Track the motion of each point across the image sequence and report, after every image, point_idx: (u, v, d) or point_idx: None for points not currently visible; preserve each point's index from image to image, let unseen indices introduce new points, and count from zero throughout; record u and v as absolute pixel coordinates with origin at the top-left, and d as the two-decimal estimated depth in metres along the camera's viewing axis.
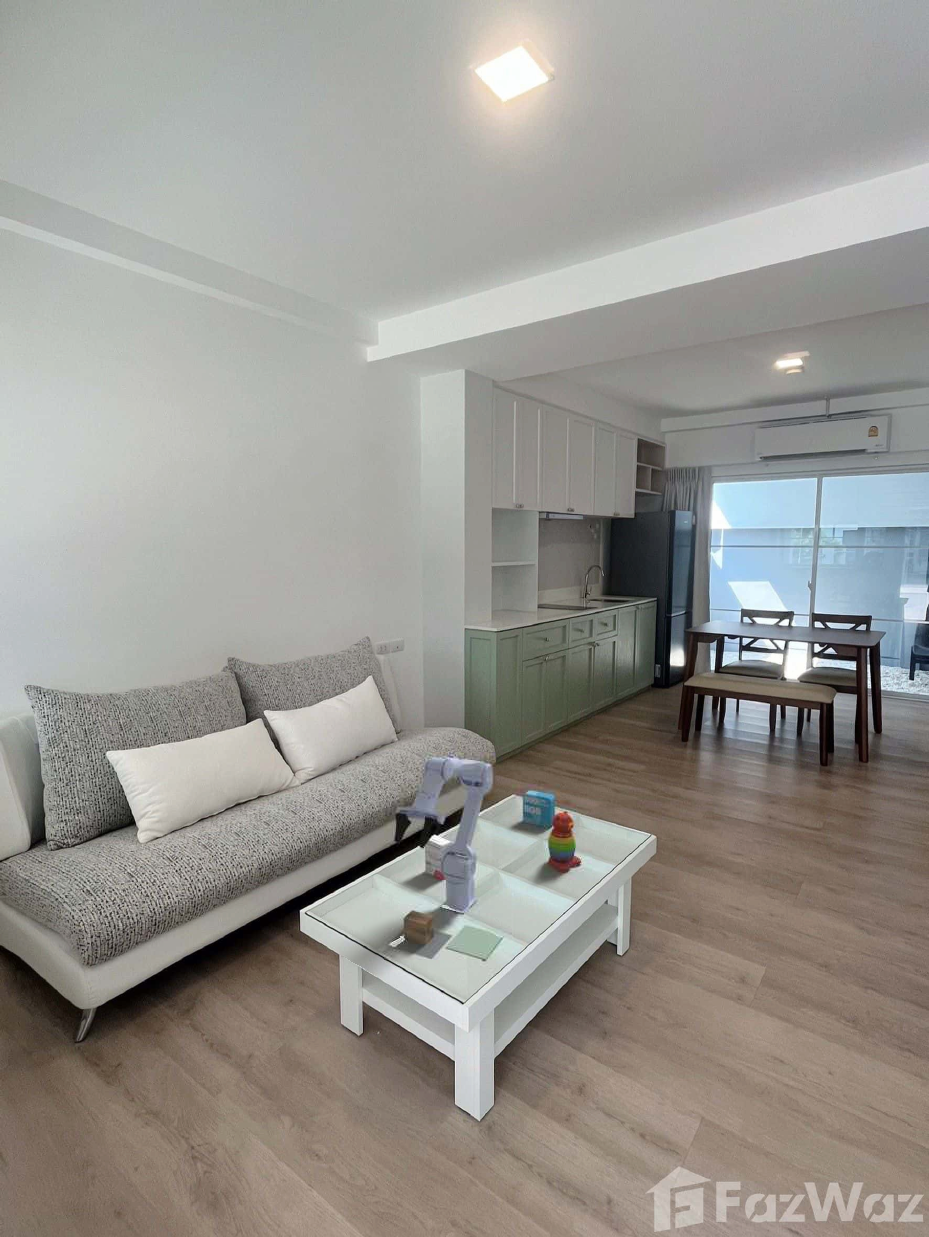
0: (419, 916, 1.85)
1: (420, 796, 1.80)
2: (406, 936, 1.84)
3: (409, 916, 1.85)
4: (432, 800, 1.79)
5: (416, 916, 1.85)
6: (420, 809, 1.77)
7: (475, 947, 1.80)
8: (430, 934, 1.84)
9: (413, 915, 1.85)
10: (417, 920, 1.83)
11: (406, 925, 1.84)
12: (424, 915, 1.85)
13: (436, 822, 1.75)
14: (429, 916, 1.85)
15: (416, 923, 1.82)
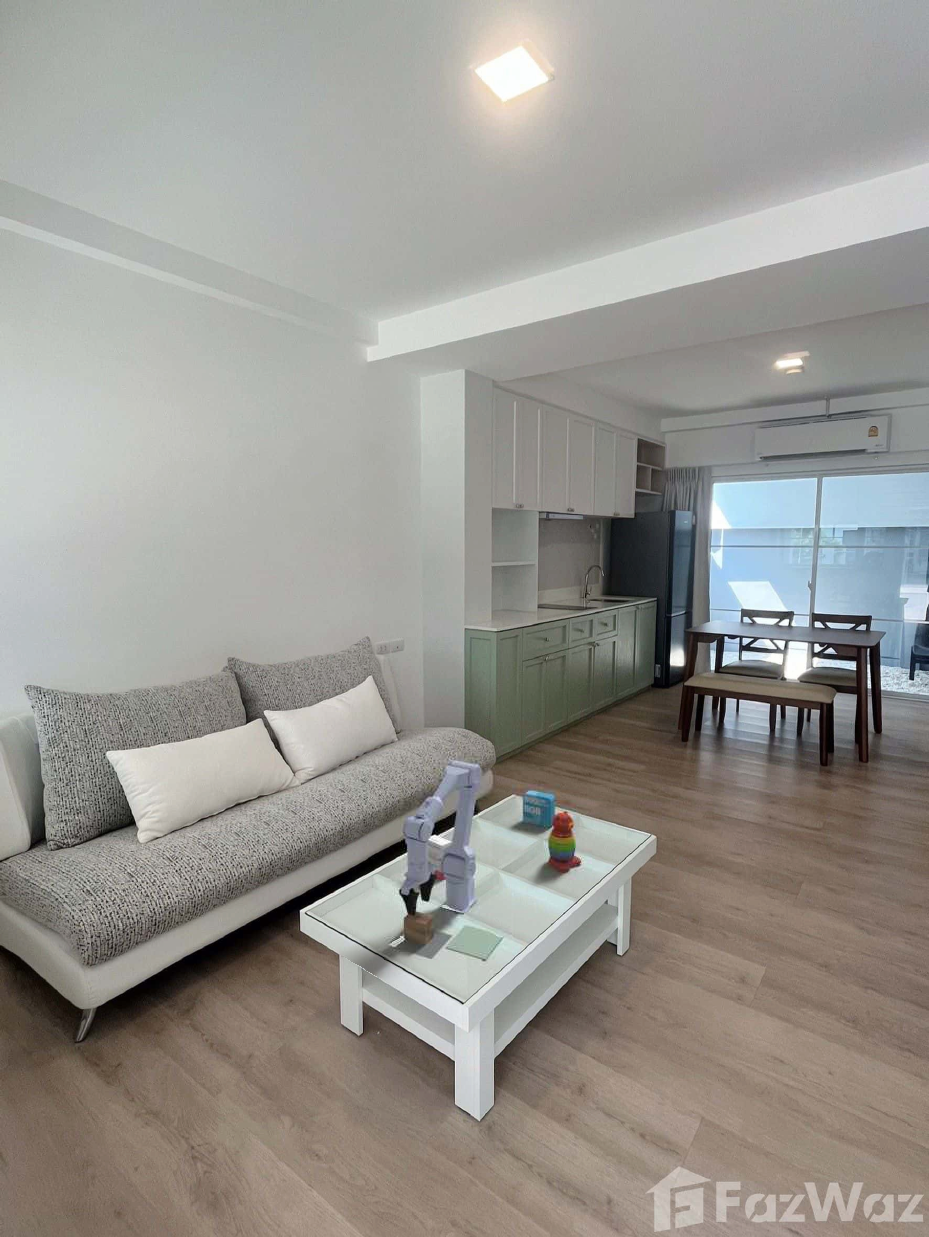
0: (419, 916, 1.85)
1: None
2: (406, 936, 1.84)
3: (409, 916, 1.85)
4: (410, 867, 1.81)
5: (416, 916, 1.85)
6: (406, 877, 1.83)
7: (475, 947, 1.80)
8: (430, 934, 1.84)
9: (413, 915, 1.85)
10: (417, 920, 1.83)
11: (406, 925, 1.84)
12: (424, 915, 1.85)
13: None
14: (429, 916, 1.85)
15: (416, 923, 1.82)
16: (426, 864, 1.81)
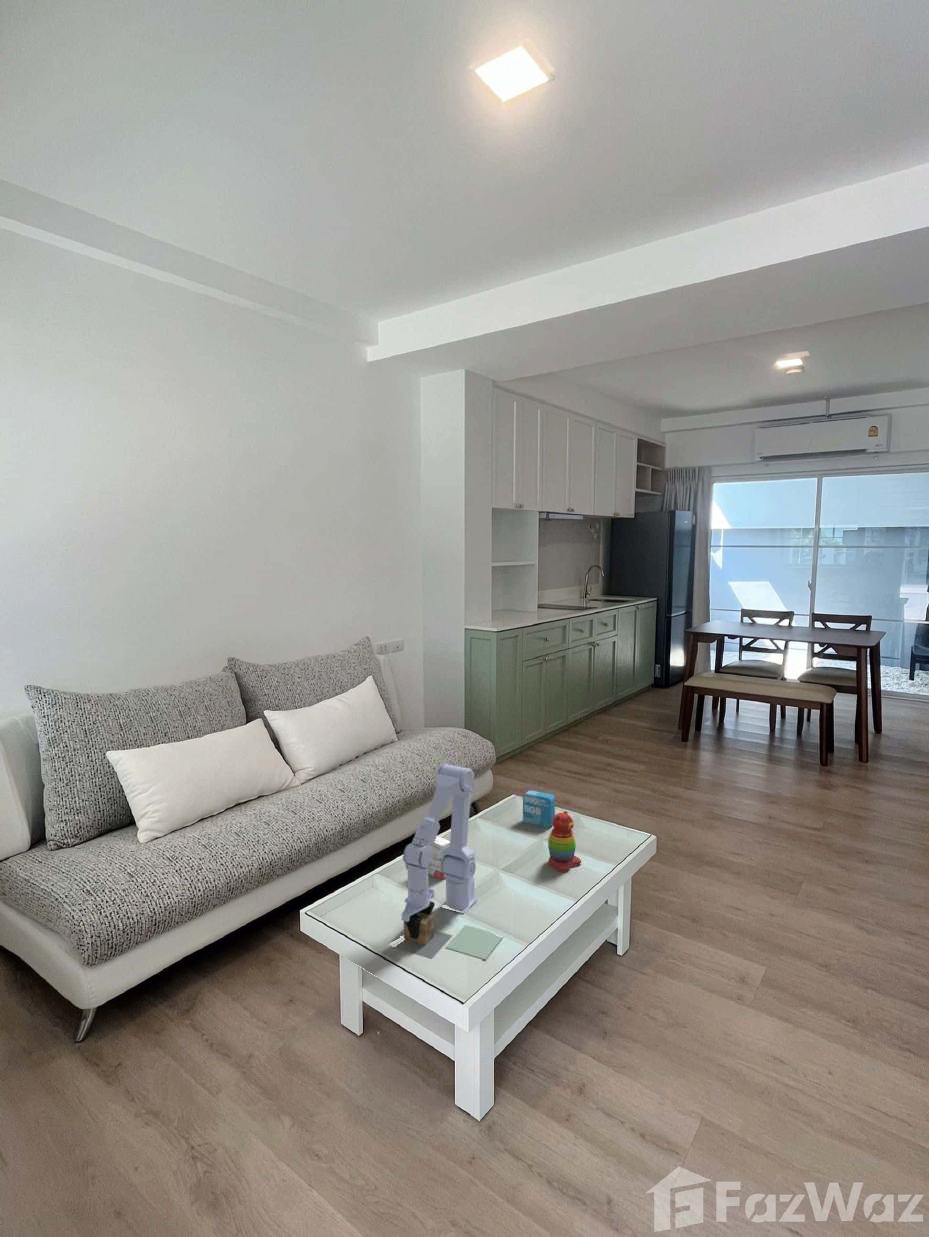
0: None
1: None
2: (406, 936, 1.84)
3: None
4: (410, 893, 1.82)
5: None
6: (407, 902, 1.84)
7: (475, 947, 1.80)
8: (430, 934, 1.84)
9: None
10: None
11: (406, 925, 1.84)
12: (424, 915, 1.85)
13: None
14: (429, 916, 1.85)
15: None
16: (426, 890, 1.82)
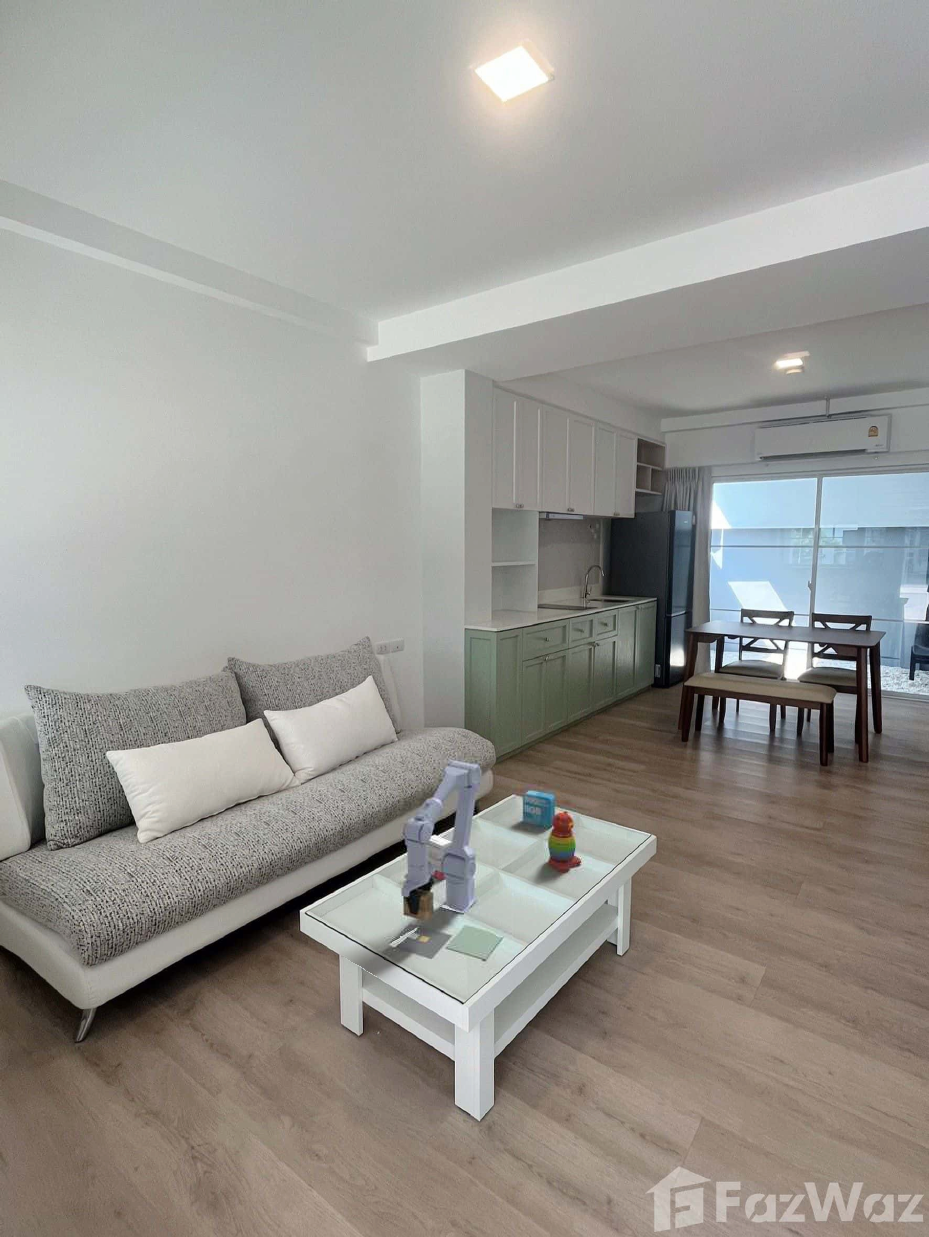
0: None
1: None
2: (406, 912, 1.83)
3: None
4: (410, 869, 1.81)
5: None
6: (407, 878, 1.83)
7: (475, 947, 1.80)
8: (430, 910, 1.83)
9: None
10: None
11: (405, 901, 1.83)
12: (424, 891, 1.85)
13: None
14: (429, 892, 1.84)
15: None
16: (426, 866, 1.81)
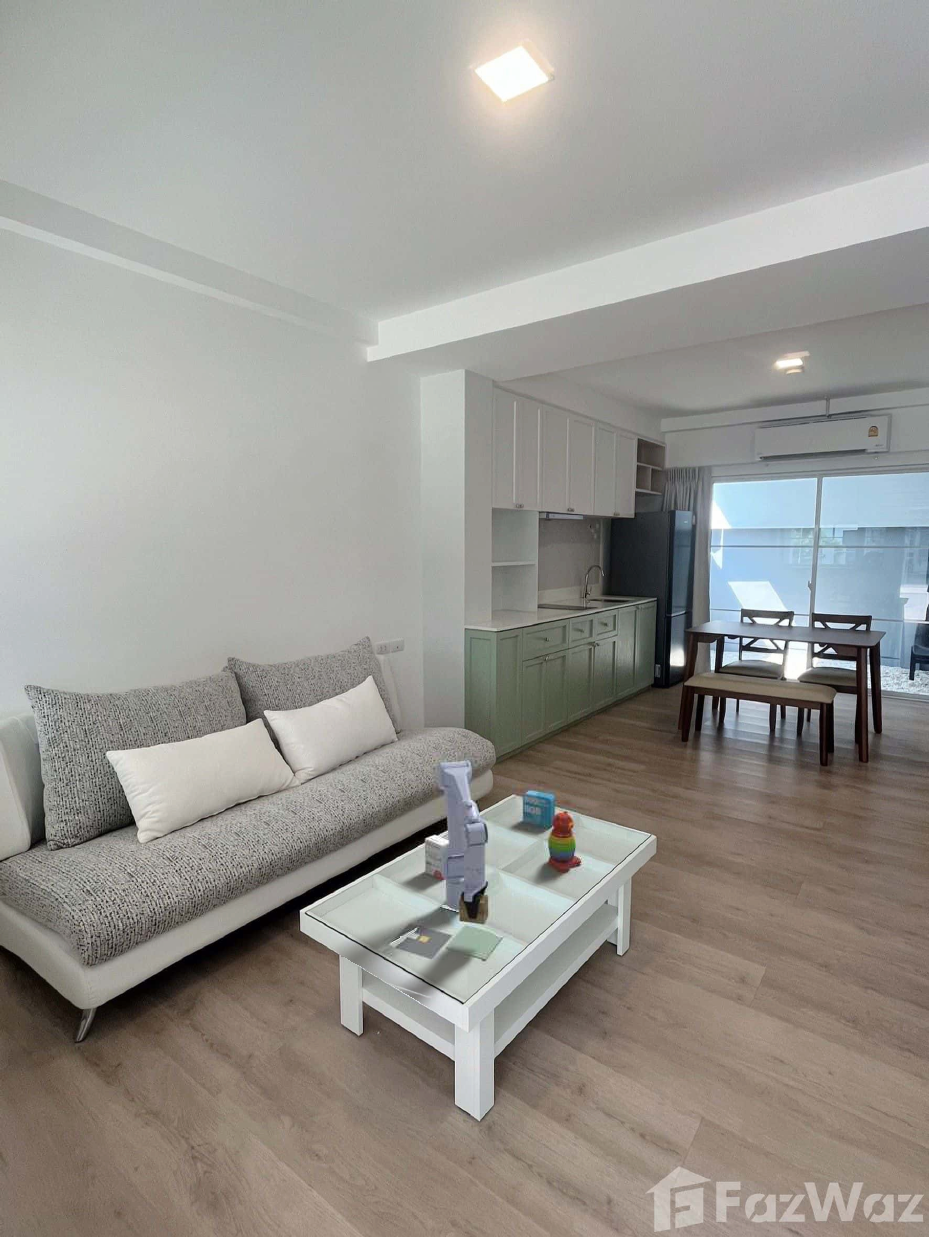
0: None
1: None
2: (462, 918, 1.81)
3: None
4: (468, 873, 1.78)
5: None
6: (463, 883, 1.81)
7: (475, 947, 1.80)
8: (486, 913, 1.81)
9: None
10: None
11: (462, 907, 1.80)
12: None
13: None
14: (484, 895, 1.82)
15: None
16: (484, 869, 1.80)
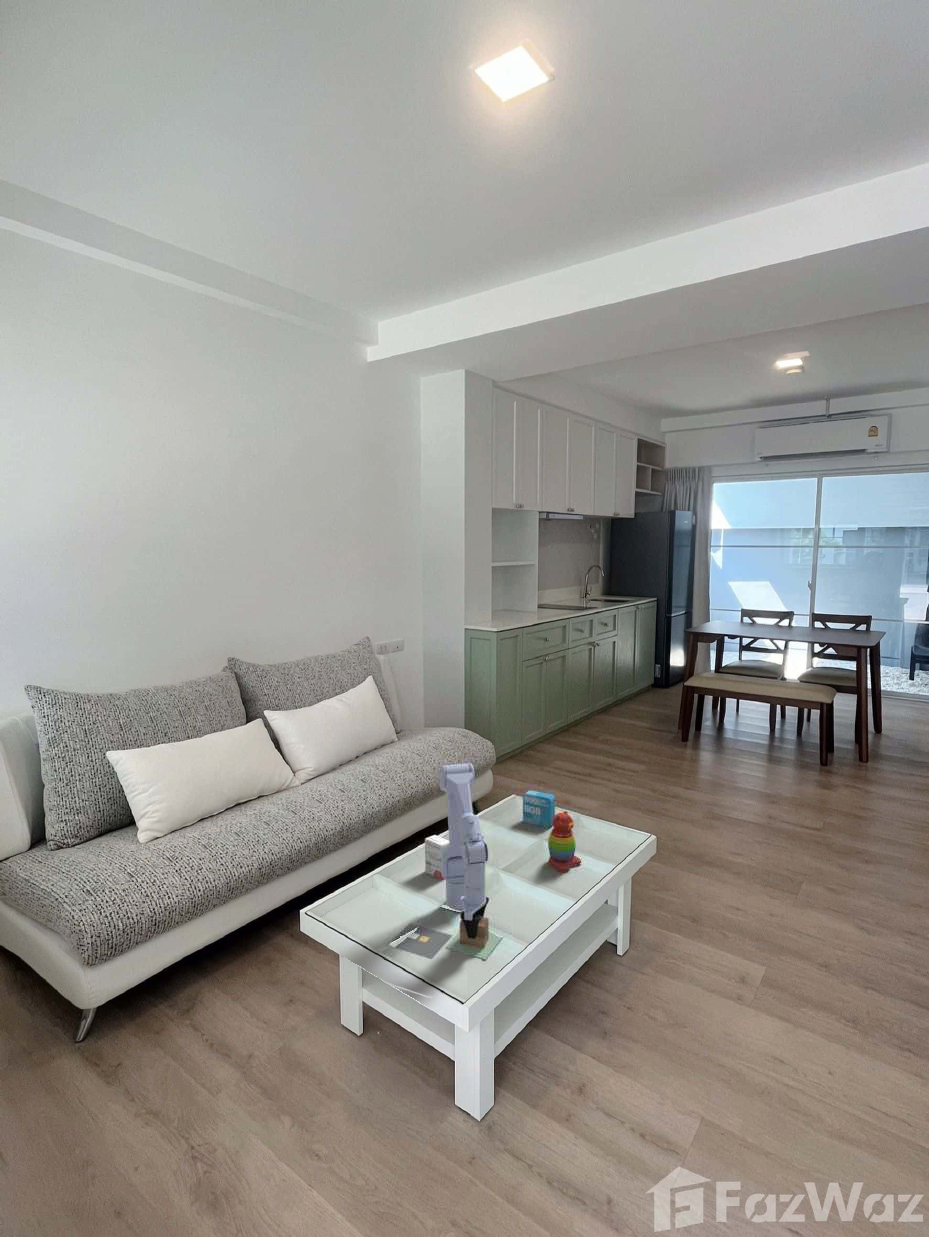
0: None
1: None
2: (462, 941, 1.81)
3: None
4: (469, 891, 1.79)
5: None
6: (463, 901, 1.81)
7: (475, 947, 1.80)
8: (487, 936, 1.82)
9: None
10: None
11: (462, 930, 1.81)
12: None
13: None
14: (484, 918, 1.83)
15: None
16: (484, 887, 1.80)
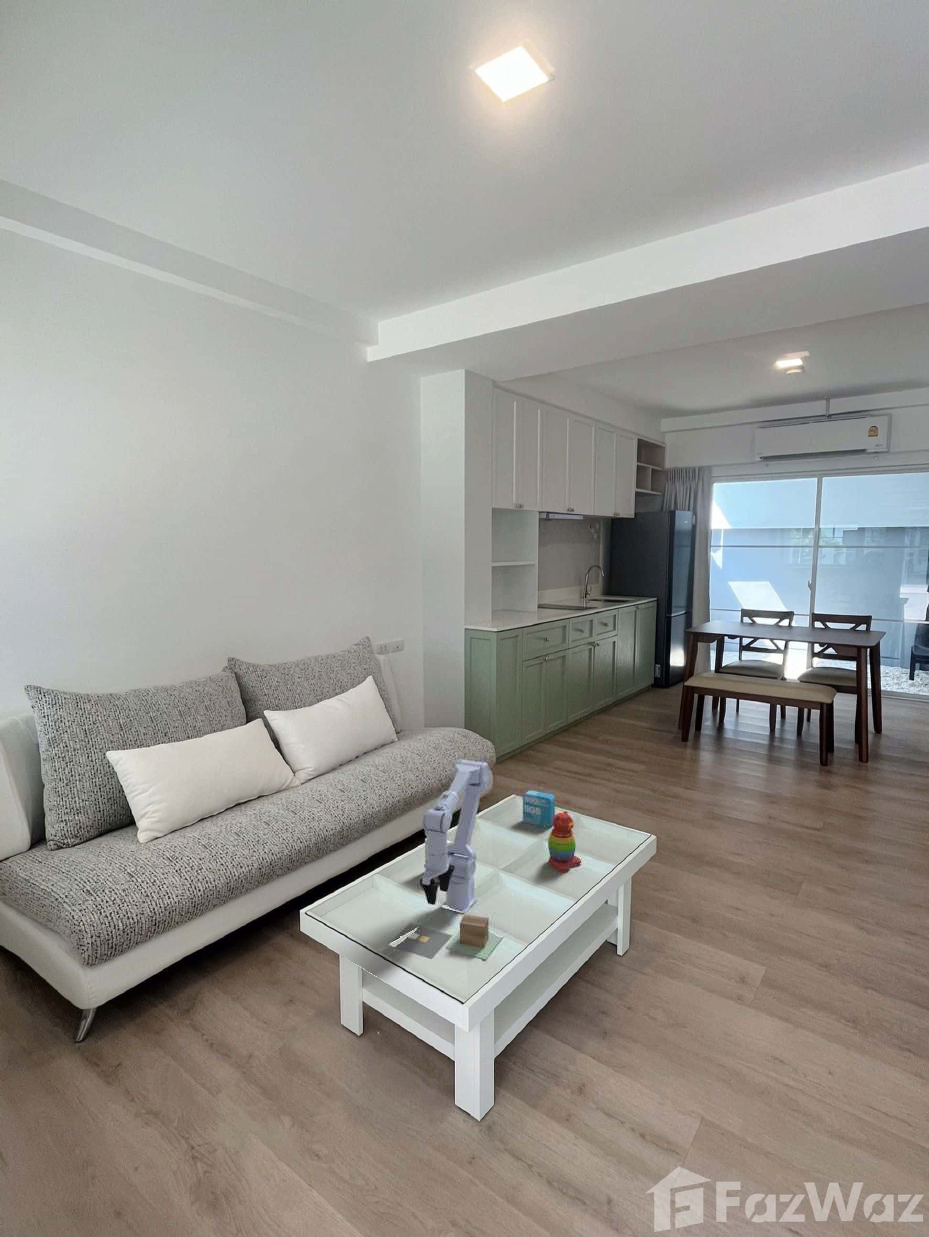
0: (474, 920, 1.82)
1: None
2: (462, 941, 1.81)
3: (464, 920, 1.82)
4: (430, 858, 1.86)
5: (471, 920, 1.82)
6: None
7: (475, 947, 1.80)
8: (487, 936, 1.82)
9: (468, 919, 1.83)
10: (474, 924, 1.80)
11: (462, 930, 1.81)
12: (479, 918, 1.83)
13: (425, 883, 1.83)
14: (484, 918, 1.83)
15: (473, 927, 1.80)
16: (445, 855, 1.86)
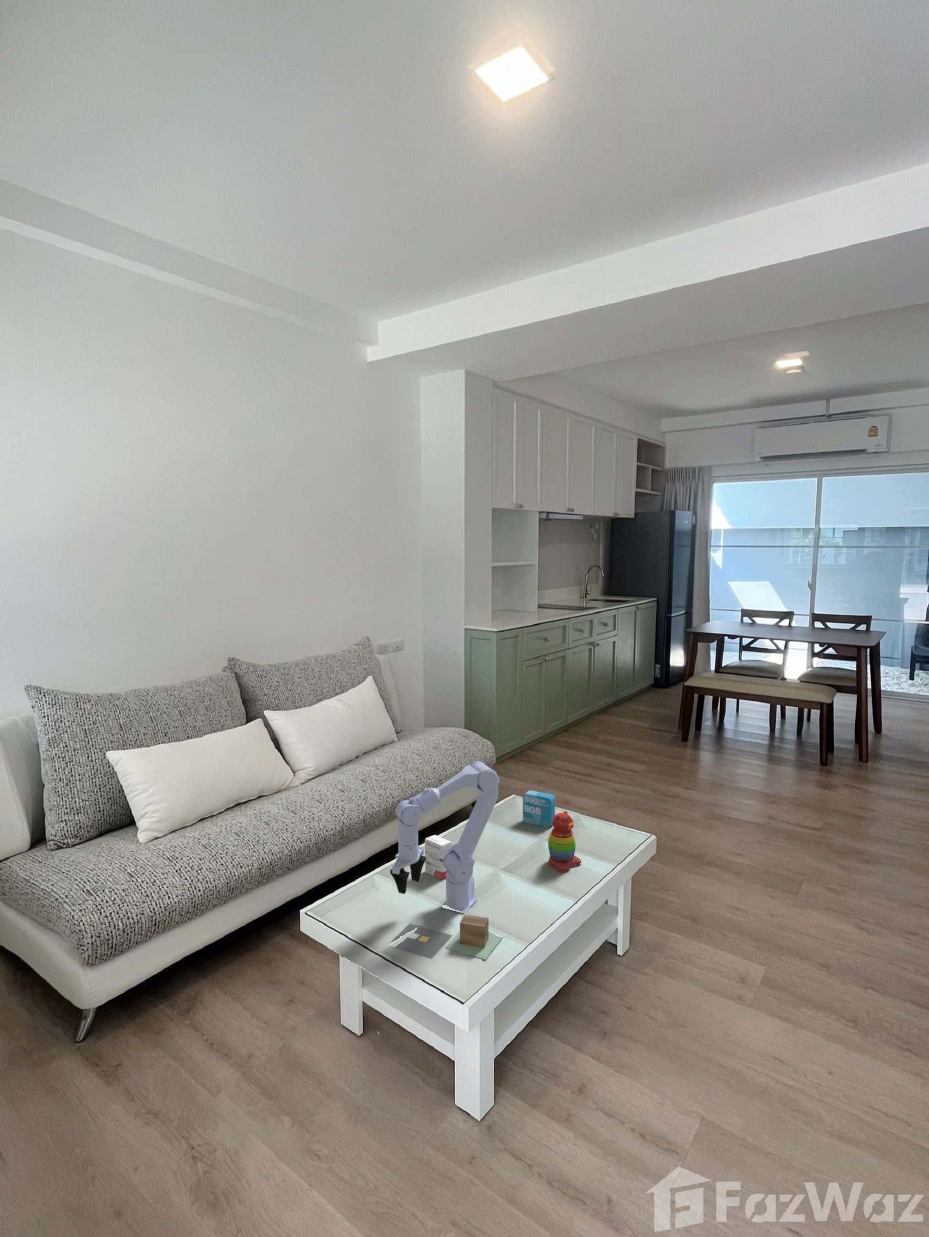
0: (474, 920, 1.82)
1: None
2: (462, 941, 1.81)
3: (464, 920, 1.82)
4: (400, 848, 1.92)
5: (471, 920, 1.82)
6: (397, 858, 1.94)
7: (475, 947, 1.80)
8: (487, 936, 1.82)
9: (468, 919, 1.83)
10: (474, 924, 1.80)
11: (462, 930, 1.81)
12: (479, 918, 1.83)
13: None
14: (484, 918, 1.83)
15: (473, 927, 1.80)
16: (416, 846, 1.92)
